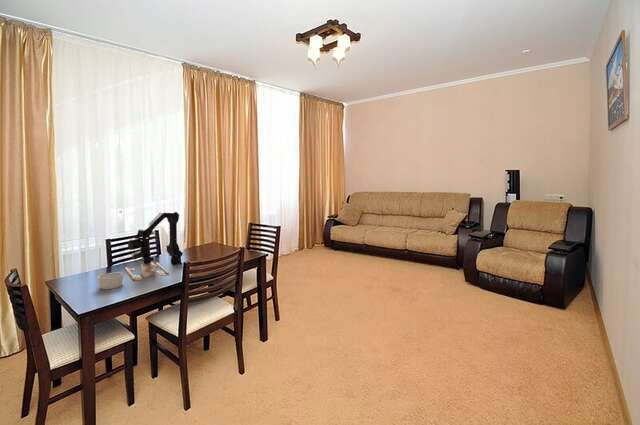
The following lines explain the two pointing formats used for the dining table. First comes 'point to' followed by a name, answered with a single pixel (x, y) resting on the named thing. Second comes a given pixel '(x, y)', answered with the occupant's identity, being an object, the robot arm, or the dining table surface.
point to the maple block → (148, 269)
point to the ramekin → (110, 280)
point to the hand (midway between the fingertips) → (146, 268)
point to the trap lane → (137, 277)
